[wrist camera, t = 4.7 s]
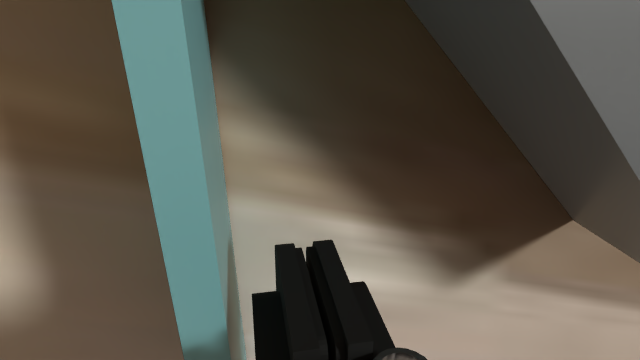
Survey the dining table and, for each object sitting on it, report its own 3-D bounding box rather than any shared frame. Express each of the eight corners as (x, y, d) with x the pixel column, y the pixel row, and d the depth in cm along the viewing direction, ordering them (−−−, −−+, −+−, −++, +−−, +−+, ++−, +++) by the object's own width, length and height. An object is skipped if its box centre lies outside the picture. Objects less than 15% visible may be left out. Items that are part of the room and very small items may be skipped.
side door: (249, 365, 17) (257, 523, 12) (220, 370, 17) (215, 533, 12) (173, -294, 9) (96, -681, 4) (115, -299, 9) (-45, -717, 4)
